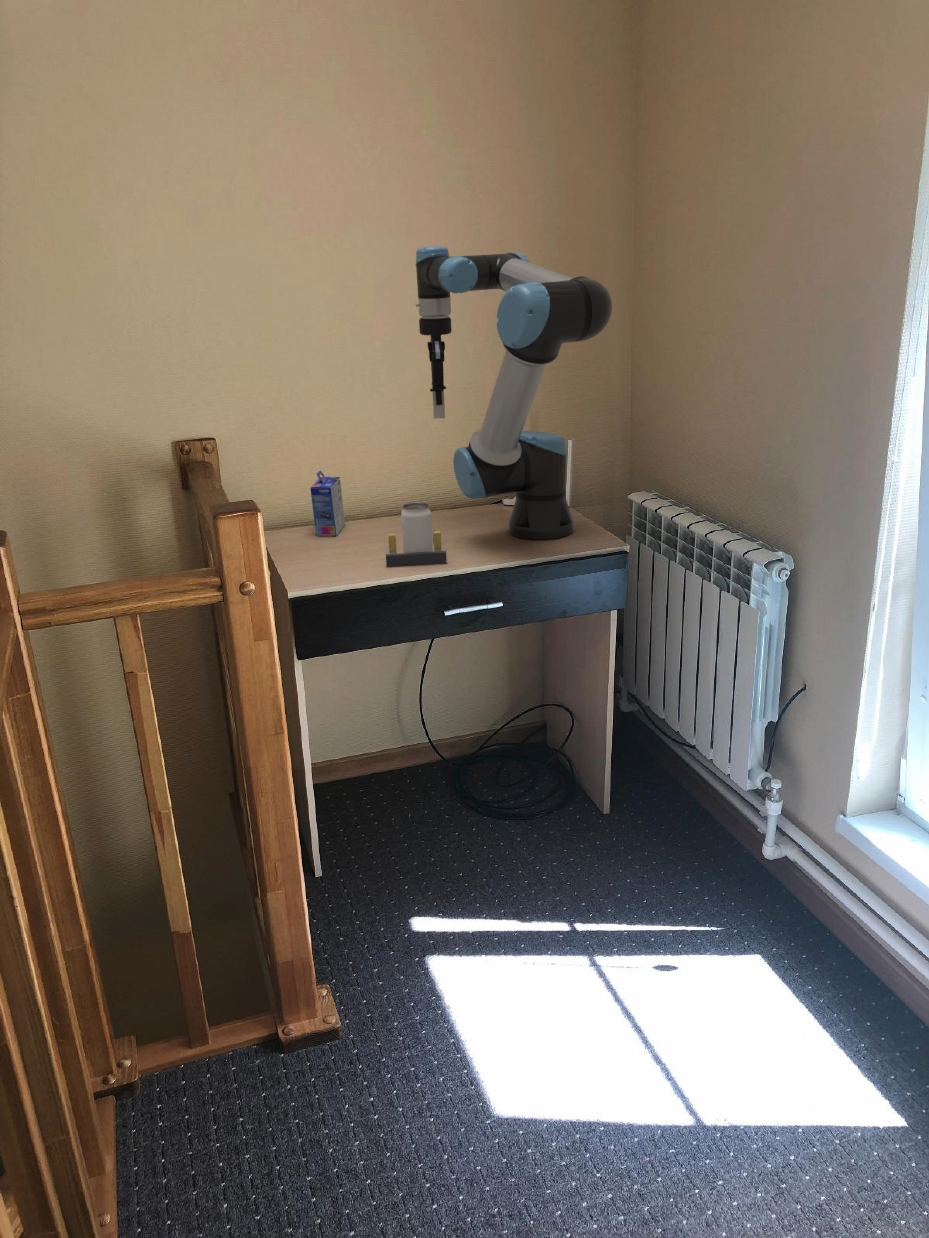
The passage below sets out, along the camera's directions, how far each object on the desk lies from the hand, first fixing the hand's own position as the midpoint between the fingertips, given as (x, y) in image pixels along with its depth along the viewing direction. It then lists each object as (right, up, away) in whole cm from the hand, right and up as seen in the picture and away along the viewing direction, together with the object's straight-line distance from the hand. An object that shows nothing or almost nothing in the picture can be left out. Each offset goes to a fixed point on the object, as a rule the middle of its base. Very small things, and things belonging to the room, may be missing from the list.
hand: (439, 417), depth 248 cm
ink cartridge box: (-26, -28, 0) cm, 38 cm away
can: (-4, -36, -23) cm, 42 cm away
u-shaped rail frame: (-5, -33, -17) cm, 38 cm away
